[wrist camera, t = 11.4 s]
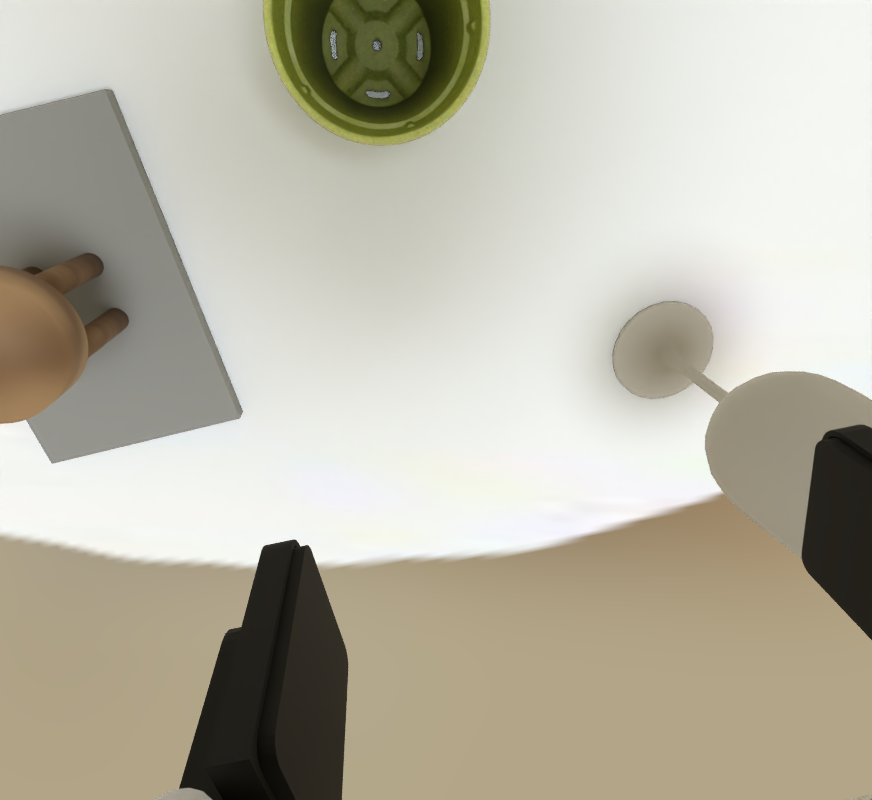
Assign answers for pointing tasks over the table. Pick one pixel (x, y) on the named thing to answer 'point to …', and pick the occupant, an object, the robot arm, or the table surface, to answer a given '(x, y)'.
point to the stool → (46, 334)
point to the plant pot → (378, 62)
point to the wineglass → (742, 415)
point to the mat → (108, 278)
